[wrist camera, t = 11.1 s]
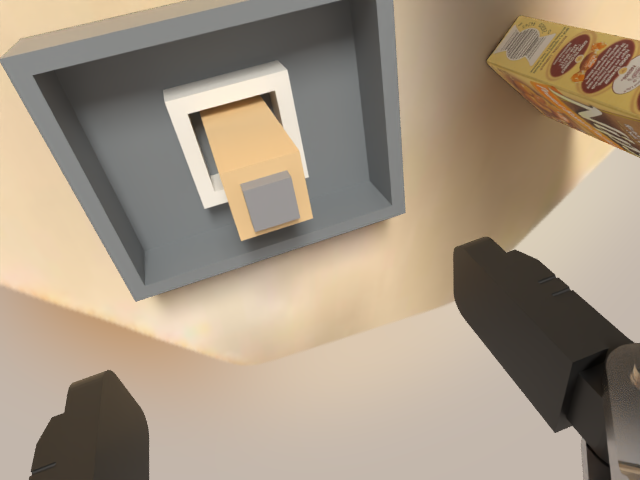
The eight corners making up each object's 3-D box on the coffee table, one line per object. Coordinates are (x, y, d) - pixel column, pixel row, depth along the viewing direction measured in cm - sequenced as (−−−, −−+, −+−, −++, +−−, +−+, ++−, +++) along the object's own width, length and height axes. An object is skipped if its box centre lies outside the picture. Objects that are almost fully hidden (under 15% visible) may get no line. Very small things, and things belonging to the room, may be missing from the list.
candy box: (482, 62, 35) (661, 133, 23) (519, 10, 34) (732, 56, 22) (543, 116, 40) (719, 199, 28) (578, 72, 38) (780, 139, 26)
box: (356, -39, 28) (391, -34, 24) (378, 183, 38) (405, 212, 34) (20, 38, 25) (-2, 59, 21) (136, 259, 35) (135, 301, 31)
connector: (257, 92, 30) (304, 157, 22) (271, 147, 32) (317, 225, 24) (198, 108, 29) (221, 181, 21) (216, 163, 32) (243, 249, 23)
